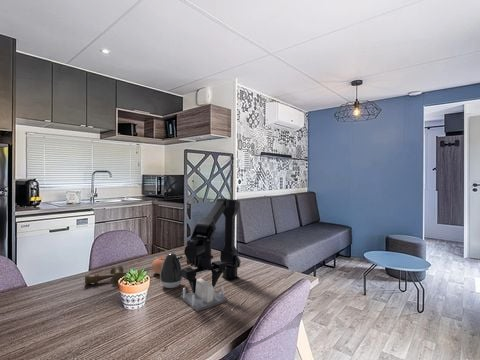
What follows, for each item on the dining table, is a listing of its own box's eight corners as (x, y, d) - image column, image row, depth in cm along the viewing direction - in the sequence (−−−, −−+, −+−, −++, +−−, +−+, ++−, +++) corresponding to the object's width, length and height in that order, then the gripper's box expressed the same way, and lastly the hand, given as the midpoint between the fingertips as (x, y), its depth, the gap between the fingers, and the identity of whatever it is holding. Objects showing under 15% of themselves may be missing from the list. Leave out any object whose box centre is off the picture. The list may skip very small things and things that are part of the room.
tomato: (156, 278, 131) (156, 262, 131) (148, 272, 139) (148, 256, 139) (176, 273, 138) (176, 258, 137) (167, 267, 146) (168, 253, 146)
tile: (200, 291, 115) (200, 278, 115) (212, 300, 107) (213, 286, 107) (195, 293, 113) (195, 279, 113) (207, 302, 105) (207, 287, 105)
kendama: (85, 282, 126) (130, 274, 135) (84, 291, 117) (133, 282, 127) (85, 270, 125) (130, 263, 135) (84, 278, 117) (132, 269, 126)
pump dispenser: (177, 291, 117) (177, 257, 116) (155, 289, 119) (156, 255, 118) (186, 282, 127) (187, 251, 126) (166, 280, 129) (166, 249, 128)
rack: (209, 288, 120) (209, 277, 120) (227, 300, 109) (228, 288, 109) (179, 297, 111) (179, 286, 111) (196, 311, 100) (196, 298, 100)
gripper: (212, 245, 122) (212, 278, 122) (174, 251, 110) (174, 289, 110) (227, 250, 113) (226, 287, 114) (187, 258, 102) (186, 299, 102)
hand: (203, 290), depth 110 cm, fingers open, 9 cm apart
